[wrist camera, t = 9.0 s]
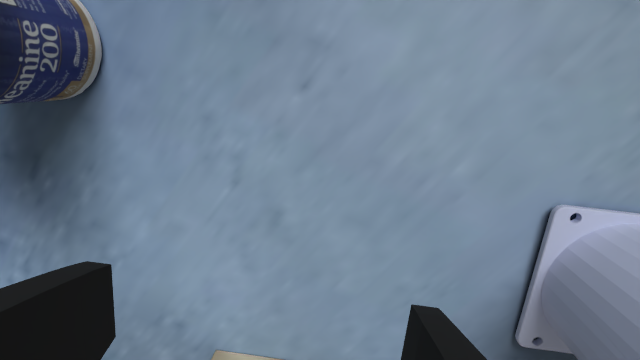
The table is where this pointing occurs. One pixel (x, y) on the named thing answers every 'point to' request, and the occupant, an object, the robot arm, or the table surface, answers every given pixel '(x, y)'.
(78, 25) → the pill bottle
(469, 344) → the robot arm
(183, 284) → the table surface
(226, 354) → the birch plinth
